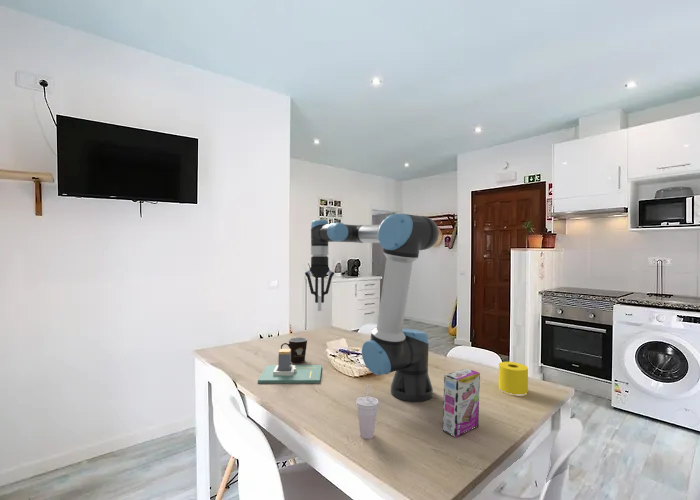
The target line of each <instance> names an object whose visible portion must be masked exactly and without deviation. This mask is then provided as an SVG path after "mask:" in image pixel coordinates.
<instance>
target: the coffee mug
mask: <svg viewBox="0 0 700 500" xmlns="http://www.w3.org/2000/svg"><path fill="white" fill-rule="evenodd" d="M284 345H287V346H288V347H289V348H288V349H291V364H292V363H293V364H302V363H304V362H305V360H306V355H307V354H306V353H307V352H306V351H307V345H308V339H307V337H299V336H298V337H292V338H289V339H288V343H287V342H285V343H282V344H281V345H280V349H283V347H284Z"/></svg>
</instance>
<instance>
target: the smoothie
mask: <svg viewBox="0 0 700 500" xmlns="http://www.w3.org/2000/svg"><path fill="white" fill-rule="evenodd" d="M369 385H370V384H368V383H367V384H366V393H365V394H366V396H361V397H357V398H356V402H355V405H356V406H357V414H358V415H357V416H358V424H359V432H360V437H361V438H362V439H365V440H370V439H372V438H374V435H375V428H376V421H377V413H378V407H379V406H380V403H379V399H377V398H376V397H373V396H369V390H370V389H369Z"/></svg>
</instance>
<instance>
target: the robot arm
mask: <svg viewBox="0 0 700 500" xmlns="http://www.w3.org/2000/svg"><path fill="white" fill-rule="evenodd" d="M439 235H440V231H439V227H438V225H437V223H436V222H435V220H433V219H432V218H430V217H428V216H424V215H417V214H416V215H415V214H408V213H407V214H406V213H392V214H389V215H387V216H386V218H384V219H383V220H382V222H381V223H380V224H357V225H356V224H347V223H346V224H345V223H343V222H333V223H329V221H328V220H325V219H324V220H323V219H317V220H315V219H314V220H312V221H311V225H310V246H311V247H310V255H311V257H310V267H309V270H307V271H306V272H304V274H305V276H306V279H307V282H308V287H309V289H310V294H311V295H314V298H315V299H314V302H315V304H317V311H318V312H321V311H322V304H324V302H325V295H328V294H329V292H330V286H331V282H332V279H333V276H335V272H334V271H332V270H330V267H329V256H328V255H329V243H331V242H332V243H333V242H335V243H336V242H337V243H338V242H339V243H359V244H363V243H365V244H366V243H367V244H368V243H370V244H379V245H380V246H381V247H382V249H383V250H382V254H383V255H384V257H385V258H386V261H385V267H384V275H383V281H382V286H381V287H382V289H381V294H380V301H379V309H378V316H377V322H376V326H375V327H374V328H373V329H371V334H370V339H368V340H366V341H365V342H364V343H363V345H362V347H361V357H362V360H363V363H364V364H365V367H366V368H367V369H368V370H369V372H371V374H374V375H376V376H382V375H388V374H390V373H393V372H394V374H393V375H394V376H393V378H392V381H391V385H390V394H391V395H392V396H393V397H395V398H396V399H399V400H402V401H405V402H412V403H413V402H415V403H416V402H419V403H420V402H425V400H426V401H429V400H430V399H432V398H433V393H434V392H433V391H434V390H433V385H432V382H431V380H430V375H429V345H430V343H429V335H428V333H426V332H425V331H422V330H419V329H412V328H403V327H404V320H405V313H406V309H407V308H406V306H407V301H408V296H409V295H408V294H409V288H410V287H409V286H410V281H411V275H412V269H413V268H412V267H413V263H414V261H416V260H418V258H419V256H420V255H419V254H420V251H425V250H428V249H430V248H432V247H434V246H435V244H436V243H437V241H438V240H439ZM311 274H312V275H313V277H315V278H314V285H315V286H314V287H313V282H312V278H311ZM327 275H328V279H327V284H326V287H325V277H327ZM319 278H320V283H321V284H320V286H321V287H320V294H319ZM431 397H432V398H431ZM428 399H429V400H428Z"/></svg>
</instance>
